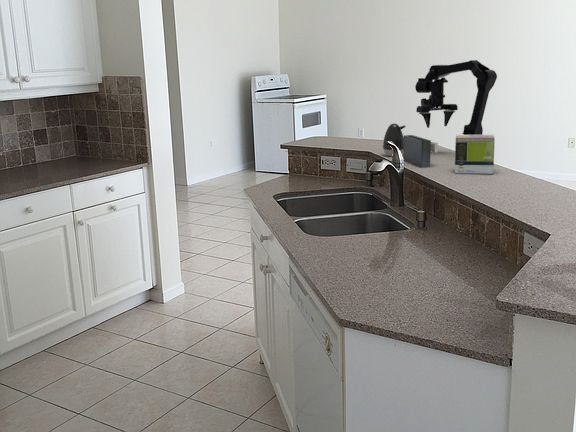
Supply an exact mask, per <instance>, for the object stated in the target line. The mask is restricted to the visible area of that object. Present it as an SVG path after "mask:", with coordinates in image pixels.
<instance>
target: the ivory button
mask: <svg viewBox="0 0 576 432" xmlns="http://www.w3.org/2000/svg"><path fill="white" fill-rule="evenodd" d="M438 145H439V143H438V142H437V141H431V153H432V152H433V153H438Z"/></svg>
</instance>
